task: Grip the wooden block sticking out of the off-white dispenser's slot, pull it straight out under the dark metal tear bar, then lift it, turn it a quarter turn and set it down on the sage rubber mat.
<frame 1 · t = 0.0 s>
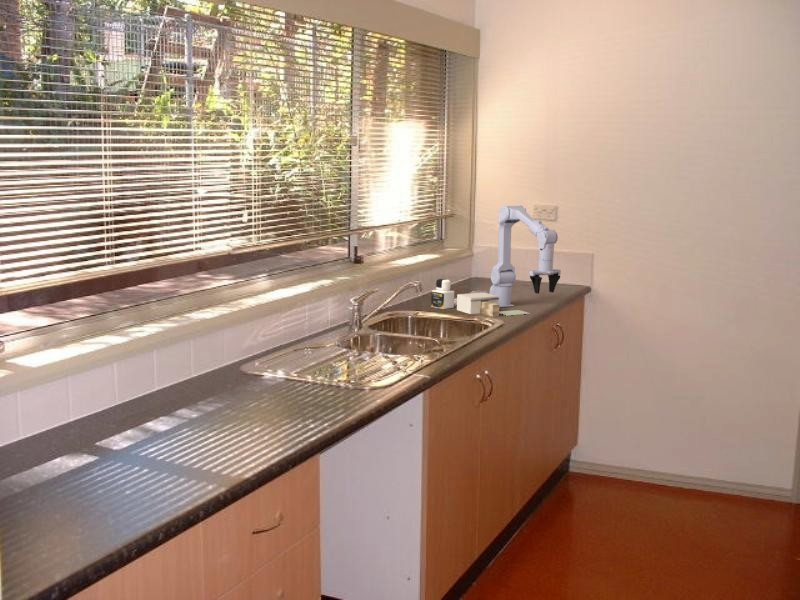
hand: (544, 292, 388), 10 cm above the worktop, fingers open, 7 cm apart
mat: (512, 313, 395), on the worktop
medicine bottle: (442, 307, 404), on the worktop
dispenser: (477, 311, 398), on the worktop
wooden block: (488, 314, 391), on the worktop
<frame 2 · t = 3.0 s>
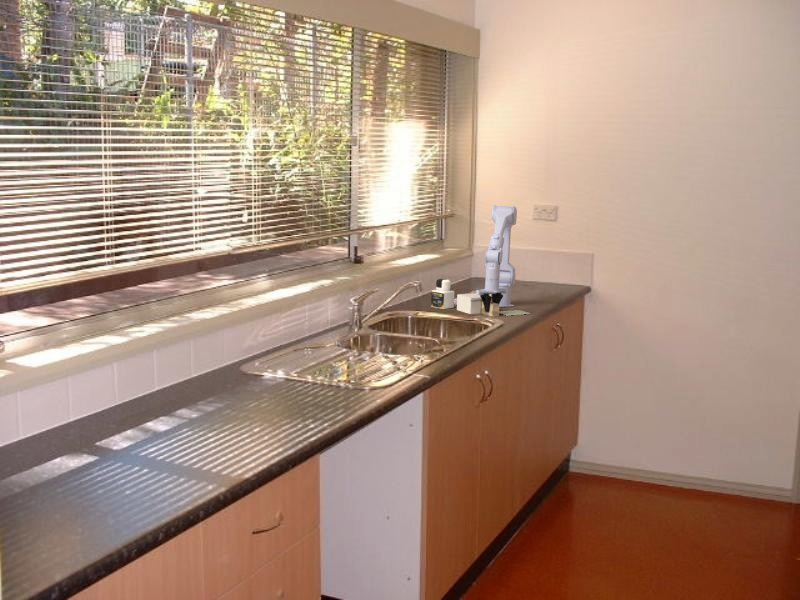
hand: (490, 311, 390), 1 cm above the worktop, fingers closed on wooden block, 3 cm apart
wooden block: (488, 314, 391), on the worktop, touching gripper
everything else where it was.
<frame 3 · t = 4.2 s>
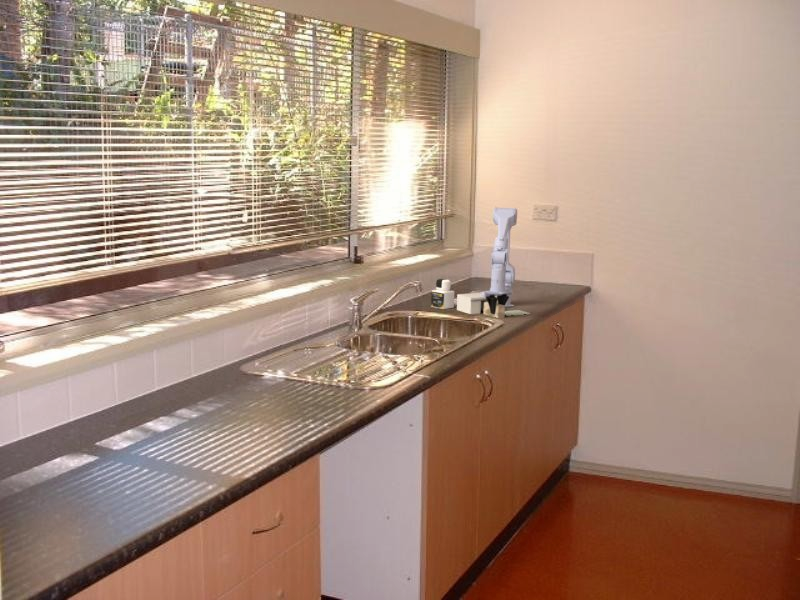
hand: (496, 313, 386), 1 cm above the worktop, fingers closed on wooden block, 3 cm apart
wooden block: (493, 315, 388), on the worktop, touching gripper
everything else where it was.
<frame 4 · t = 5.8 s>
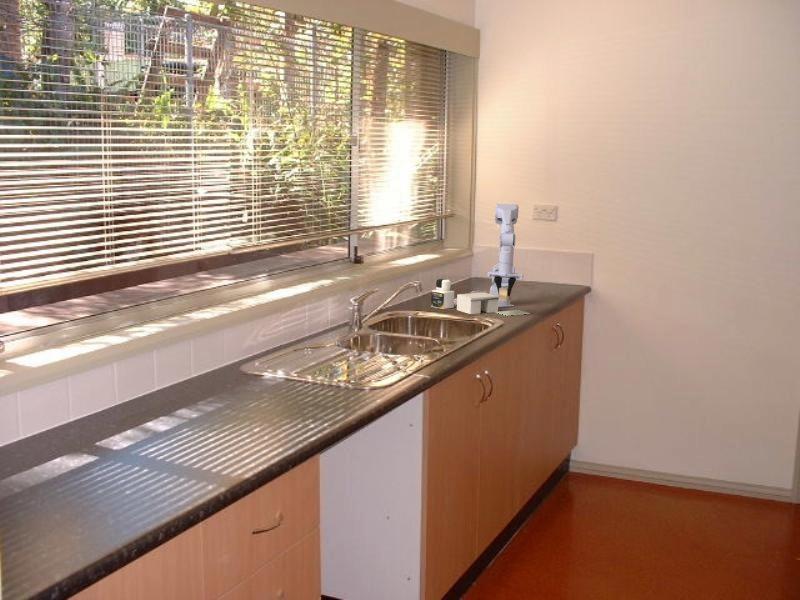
hand: (504, 295, 389), 8 cm above the worktop, fingers closed on wooden block, 3 cm apart
wooden block: (504, 300, 391), point 6 cm above the worktop, tilted 6°, touching gripper
everything else where it was.
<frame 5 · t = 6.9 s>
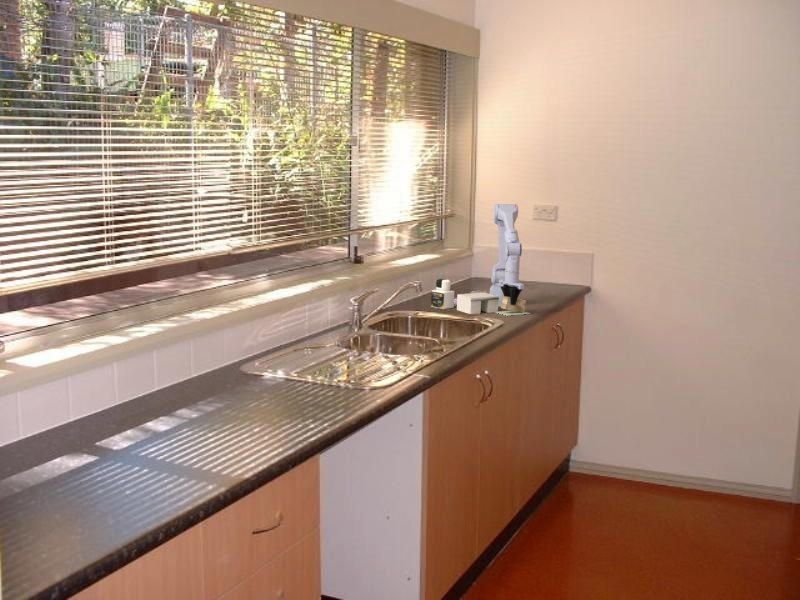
hand: (510, 303, 393), 4 cm above the worktop, fingers closed on wooden block, 3 cm apart
wooden block: (512, 310, 395), point 1 cm above the worktop, tilted 11°, touching gripper
everything else where it was.
when the fingers open (3 cm above the worktop, at t = 7.9 s): wooden block stays where it is, resting on mat.
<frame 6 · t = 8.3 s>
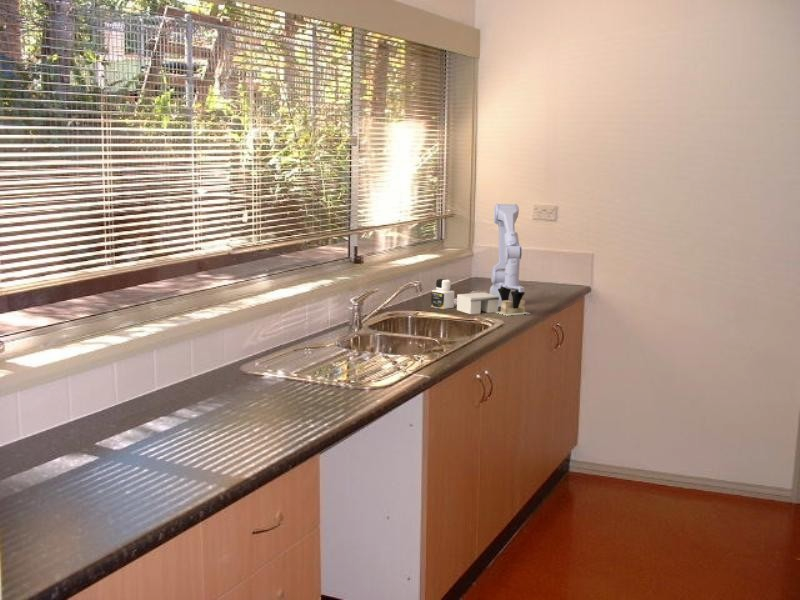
hand: (510, 306, 394), 3 cm above the worktop, fingers open, 7 cm apart
wooden block: (512, 312, 395), resting on mat
everything else where it was.
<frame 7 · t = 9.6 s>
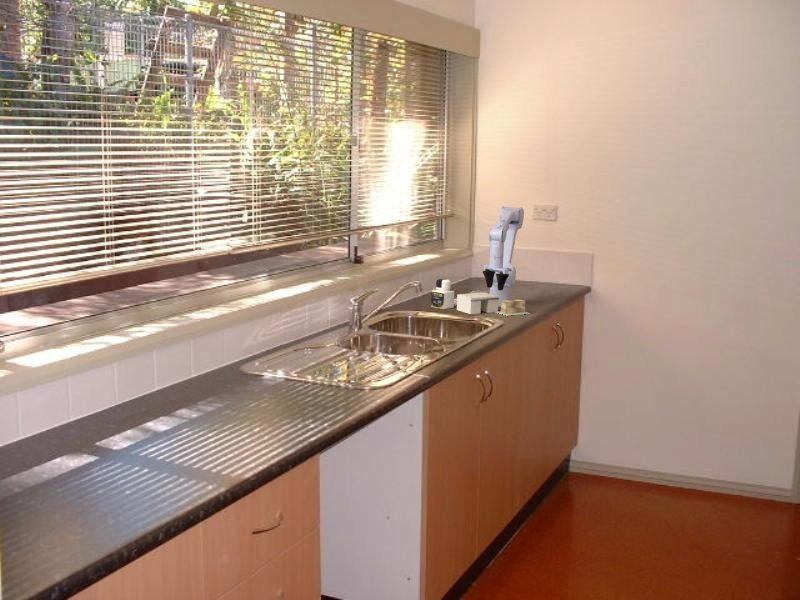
hand: (494, 288, 398), 9 cm above the worktop, fingers open, 7 cm apart
nothing on the worktop moved.
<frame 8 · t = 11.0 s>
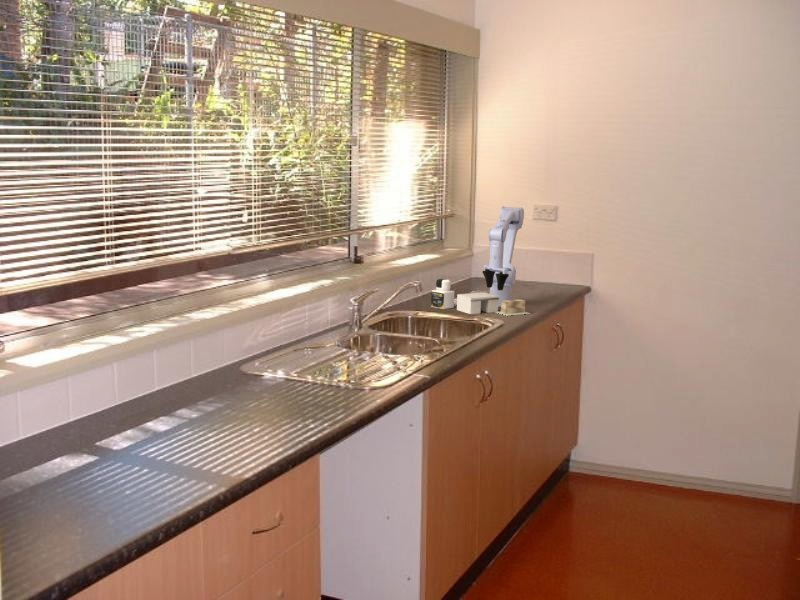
hand: (494, 288, 398), 9 cm above the worktop, fingers open, 7 cm apart
nothing on the worktop moved.
at the end: wooden block 0.1 cm off-centre on the mat, point 0.4 cm above the mat's base; wooden block tilted 0°; wooden block touching mat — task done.
